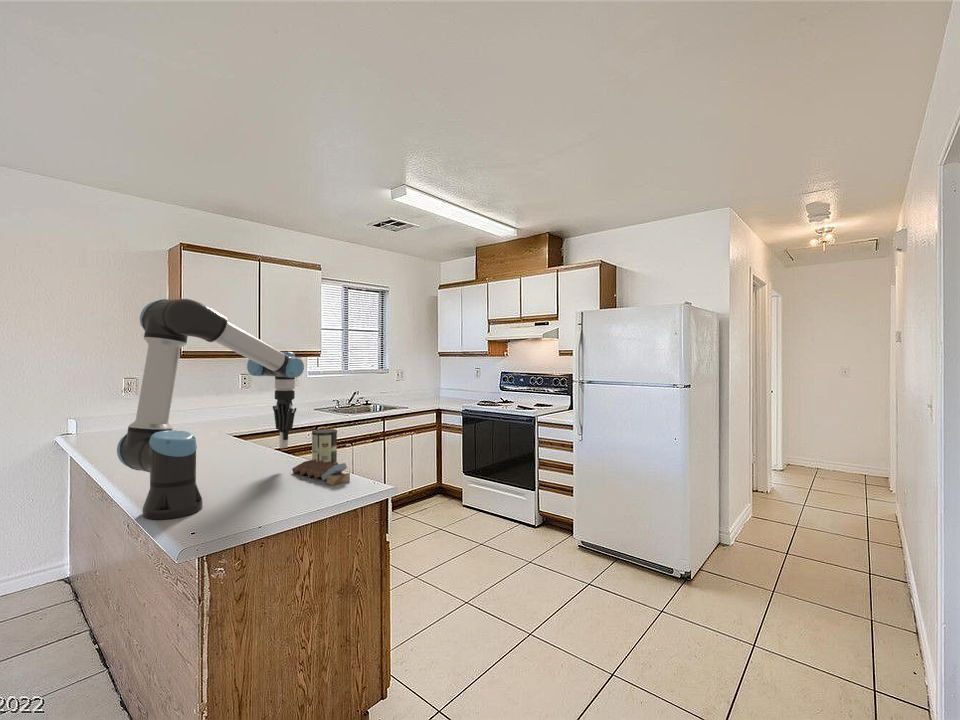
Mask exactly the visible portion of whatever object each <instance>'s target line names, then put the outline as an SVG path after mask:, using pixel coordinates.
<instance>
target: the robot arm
mask: <svg viewBox="0 0 960 720" xmlns="http://www.w3.org/2000/svg"><path fill="white" fill-rule="evenodd" d="M139 323H140V326H141V327H142V329H143V330H144V333H143V334H144V335H143V339H144V341H146V343H147V345H148V346H147V352H146V357H145V365H144V369H143V375H142V380H141V387H140V391H139V392H140V393H139V398H138V403H137V405H138V406H137V410H136V415H135V416H136V417H135V420H134V421H133V422H132V423H130V424H129V425H128V427H127V433H126V434H125V435H124V436H123V437H121V439H119V441H118V444H117V446H116V455H117V458H118V460H119V461H120V463H122V465H124V466H126V467H128V468H129V469H132V470H135V471H142V472H147V473H149V490H148V492H147V495H146V497H145V501H144V503H143V506H142V517H144V518H145V519H149V520H168V519H176V518H181V517H182V518H183V517H186V516H189V515H192V514H195V513H197V512H199V511H201V510H202V509H203V497H202V495H201V492H200V490H199V488H198V485H197V441H196V440H197V438H196V436H195V435H194V434H193V433H191V432H189V431H185V430H174V429H173V426H172V425H171V424H170V423H169V419H170V418H169V417H170V413H171V406H172V405H171V404H172V401H173V400H172V399H173V394H174V389H175V388H174V387H175V382H176V376H177V370H178V363H179V357H180V351H181V348H182V347H185V346H186V345H187V343H188V342H187V341H188V338H189V337H193V338H198V339H201V340H204V341H206V342H208V343H217V344H219V345H221V346H223V347H224V348H227V349H229V350H231V351H233V352H234V353H236V354H238V355H240V356H242V357H244V358H247V359H248V361H247V364H246V369H247V372H248V373H249V375H251V376H252V377H274V399H275V400H276V404H275V405H272V410H273V415H274V422H275V429H276V430H278V432H279V436H278V437H279V449H286V448H289V447H288V446H289V445H288V444H289V432H291V431H292V430H293V427H294V426H293V425H294V421H295V414H296V412H297V407H294V406H293V405H294V404H293V400H294V399H295V398H296V397H295V395H296V394H295V390H294V389H295V387H296V385H295V384H296V381H295V379H296V378H299V377H300V376H302V375H303V373H304V369H305V364H304V362H303V360H302V359H301V358H299V357H296V354H295V352H292V351H280V350H278V349H276V348H275V347H273V346H271V345H269V344H267V342H264V341H262V340H261V339H259V338H257V337H255V336H253V335H252V334H250V333H248V332H246V330H243V329H241V328H239V327H238V326H236V325H235V324H233V323H231V322H229V320H228V318H227V317H226V316H225V315H223V314H221V313H220V312H218V311H216V310H214V309H213V308H211V307H209V306H207V305H205V304H203V303H201V302H199V301H196V300H193V299H189V298H179V299H178V298H175V299H173V298H172V299H168V298H167V299H166V298H165V299H164V298H163V299H158V300H154V301H152V302H150V303H148V304H146V305H145V306H144V308H142V310H141V312H140V313H139Z"/></svg>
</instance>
